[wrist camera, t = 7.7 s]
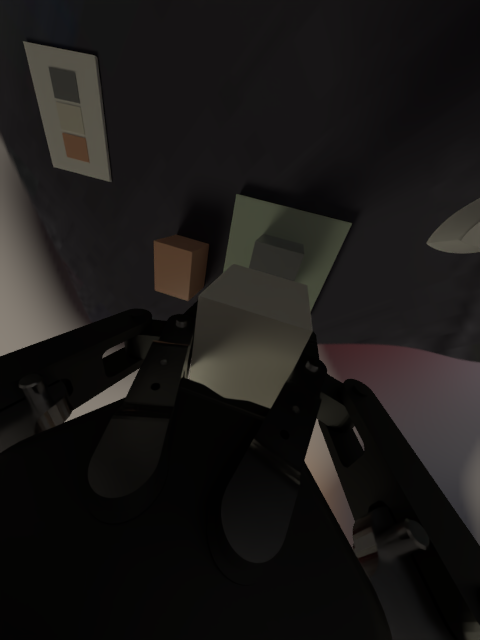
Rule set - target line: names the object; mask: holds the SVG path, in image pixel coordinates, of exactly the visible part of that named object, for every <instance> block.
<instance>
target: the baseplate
mask: <svg viewBox="0 0 480 640" xmlns="http://www.w3.org/2000/svg"><path fill="white" fill-rule="evenodd" d="M351 225H352V223H349V222H345V221H341V220H337V219H333V218H330V217H326V216H322V215H318V214H314V213H310V212H306V211H302V210H298V209H294V208H290V207H286V206H282V205H278V204H274V203H270V202H267V201H263V200H259V199H255V198H251V197H247V196H243V195H239V194H236V200H235V206H234V212H233V218H232V224H231V230H230V236H229V241H228V247H227V253H226V259H225V265H224V271H223V273H224V272H225V271H226V270H227V269H228V268H229V267H230V266H231V265H232V264H236V265H240V266H243V267H247V268H250V269H253V270H257V271H260V272H264V273H267V274H271V275H274V276H277V277H281V278H284V279H288V280H291V281H295V282H298V283H301V284H305V285H307V287H308V296H309V304H310V312H311V310H312V308H313V306H314V303H315V301H316V299H317V297H318V295H319V293H320V291H321V289H322V286H323V284H324V282H325V280H326V278H327V276H328V274H329V271H330V269H331V267H332V265H333V263H334V261H335V259H336V257H337V254H338V252H339V250H340V248H341V246H342V244H343V242H344V240H345V237H346V235H347V233H348V231H349V229H350V227H351Z"/></svg>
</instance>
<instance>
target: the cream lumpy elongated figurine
mask: <svg viewBox="0 0 480 640" xmlns="http://www.w3.org/2000/svg"><path fill="white" fill-rule="evenodd" d="M426 244H428V245H429V246H431V247H433V248H435V249H437V250H440V251H444V252H449V253H475V252H480V198H479V199H477V200H476V201H474V202H472V203H470V204H468V205H467V206H465V207H464V208H462V209H460V210H459V211H458V212H456V213H455V214H453V215H452V216H451V217H449V218H448V219H447V220H446V221H445V222H444V223H443V224H441V225H440V226H439V227H438V228H437V230H436V231H435V232H434V233H433V234H432V235H431V237H430V238H429V240H428V241H427V243H426Z"/></svg>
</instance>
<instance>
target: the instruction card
mask: <svg viewBox="0 0 480 640" xmlns="http://www.w3.org/2000/svg"><path fill="white" fill-rule="evenodd" d="M23 43H24V47H25V51H26V55H27V59H28V63H29V68H30V72H31V76H32V80H33V84H34V88H35V92H36V97H37V101H38V105H39V109H40V113H41V117H42V122H43V126H44V130H45V134H46V138H47V142H48V147H49V151H50V155H51V159H52V163H53V167H56V168H60V169H64V170H68V171H71V172H75V173H79V174H83V175H87V176H90V177H94V178H98V179H102V180H105V181H109V182H112V178H111V169H110V161H109V152H108V144H107V135H106V126H105V118H104V109H103V101H102V92H101V83H100V75H99V66H98V58H97V57H96V56H95V55H89V54H84V53H79V52H74V51H69V50H64V49H59V48H54V47H49V46H44V45H39V44H34V43H29V42H24V41H23Z"/></svg>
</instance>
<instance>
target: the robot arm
mask: <svg viewBox="0 0 480 640" xmlns="http://www.w3.org/2000/svg"><path fill="white" fill-rule="evenodd" d="M197 305H198V301H197V302H196V303H195V304H194V305H193V306H191V307H190V308H189V309H188V310H187V311H186V312H185V313H184V314H176V315H173V316H171V317H169V318H168V320H167V321H161V320H152V314H151V313H150V312H149V311H147V310H144V309H130V310H127V311H124V312H121V313H119V314H116V315H113V316H110V317H108V318H105V319H102V320H99V321H97V322H94V323H91V324H88V325H86V326H83V327H80V328H77V329H74V330H72V331H69V332H66V333H63V334H61V335H58V336H55V337H53V338H50V339H47V340H44V341H42V342H39V343H36V344H33V345H30V346H28V347H25V348H22V349H19V350H17V351H14V352H11V353H8V354H6V355H3V356H0V640H480V546H479V544H478V543H477V541H476V540H475V539H474V537H473V536H472V534H471V533H470V531H469V530H468V528H467V527H466V525H465V524H464V523H463V521H462V520H461V518H460V517H459V515H458V514H457V513H456V511H455V510H454V508H453V507H452V505H451V504H450V502H449V501H448V500H447V498H446V497H445V495H444V494H443V492H442V491H441V490H440V488H439V487H438V485H437V484H436V483H435V481H434V479H433V478H432V476H431V475H430V474H429V472H428V471H427V469H426V468H425V466H424V465H423V463H422V462H421V461H420V459H419V458H418V456H417V455H416V453H415V452H414V450H413V449H412V448H411V446H410V445H409V443H408V442H407V440H406V439H405V438H404V436H403V435H402V433H401V432H400V430H399V429H398V428H397V426H396V425H395V423H394V422H393V420H392V419H391V417H390V416H389V414H388V413H387V412H386V410H385V409H384V408H383V406H382V404H381V403H380V401H379V400H378V399H377V397H376V396H375V394H374V393H373V392H372V390H371V389H370V388H369V387H367V386H366V385H365V384H363V383H362V382H360V381H357V380H354V379H347V380H345V382H344V383H341V382H340V381H338V380H336V379H334V378H333V377H331V376H330V375H328V374H327V368H326V366H325V365H324V363H323V362H322V361H321V360H319V354H318V346H317V342H316V341H317V339H316V335H315V333H314V332H312V334H311V336H310V338H309V340H308V342H307V344H306V346H305V348H304V350H303V352H302V353H301V355H300V357H299V359H298V361H297V363H296V365H295V366H294V368H293V370H292V372H291V374H290V376H289V377H288V378H287V380H286V382H285V384H284V385H283V387H282V389H281V391H280V393H279V394H278V396H277V398H276V400H275V402H274V403H273V405H272V407H271V409H270V408H267V407H265V406H262V405H259V404H256V403H254V402H251V401H246V400H238V399H229V398H224V397H222V396H221V395H219V394H218V393H216V392H214V391H213V390H211V389H210V388H208V387H207V386H205V385H204V384H201V383H198V382H195V381H192V380H190V379H188V374H189V368H190V364H191V358H192V351H193V342H194V333H195V324H196V314H197ZM122 342H125V347H124V348H122V349H120V350H118V351H116V352H114V353H112V354H110V355H108V356H106V357H104V358H102V356H103V354H104V353H105V351H106V350H108V349H110V348H112V347H114V346H116V345H118V344H120V343H122ZM139 368H140V369H139ZM137 369H139V371H138V373H137V375H136V377H135V379H134V382H133V384H132V386H131V388H130V390H129V392H128V394H127V396H126V397H125V398H123V399H121V400H118V401H116V402H113V403H111V404H108V405H106V406H104V407H101V408H99V409H96V410H94V411H92V412H89V413H87V414H84V415H82V416H79V417H77V418H74V419H72V420H70V421H67V422H65V423H64V421H65V420H66V419H67V418H68V417H69V416H70V414H71V412H72V411H73V410H74V409H76V408H77V407H79V406H81V405H82V404H84V403H85V402H87V401H88V400H90V399H91V398H93V397H94V396H96V395H98V394H99V393H101V392H103V391H104V390H106V389H107V388H109V387H110V386H112V385H113V384H115V383H117V382H118V381H120V380H121V379H123V378H125V377H126V376H128V375H129V374H131V373H132V372H134V371H136V370H137ZM316 418H317V419H318V422H319V425H320V428H321V431H322V433H323V436H324V439H325V441H326V444H327V447H328V449H329V452H330V455H331V458H332V460H333V463H334V466H335V469H336V471H337V474H338V477H339V479H340V482H341V485H342V487H343V490H344V492H345V495H346V498H347V501H348V503H349V506H350V509H351V511H352V514H353V517H354V520H355V523H354V526H353V541H354V543H353V549H352V547H351V545H350V544H349V542H348V540H347V538H346V536H345V535H344V533H343V531H342V529H341V528H340V525H339V524H338V522H337V520H336V518H335V516H334V514H333V513H332V511H331V509H330V507H329V505H328V504H327V502H326V500H325V498H324V496H323V494H322V493H321V491H320V489H319V487H318V485H317V483H316V482H315V480H314V478H313V476H312V474H311V472H310V471H309V469H308V467H307V465H306V464H305V461H304V459H305V456H306V452H307V449H308V446H309V442H310V439H311V435H312V432H313V428H314V425H315V422H316ZM354 426H355V427H356V429H357V431H358V433H359V435H360V437H361V438H362V440H363V443H364V451H363V449H362V447H361V445H360V443H359V441H358V439H357V437H356V435H355V433H354V431H353V429H352V428H353V427H354Z"/></svg>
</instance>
